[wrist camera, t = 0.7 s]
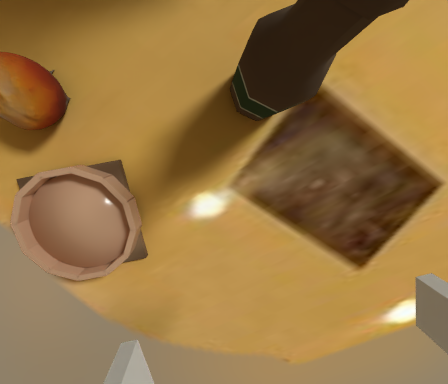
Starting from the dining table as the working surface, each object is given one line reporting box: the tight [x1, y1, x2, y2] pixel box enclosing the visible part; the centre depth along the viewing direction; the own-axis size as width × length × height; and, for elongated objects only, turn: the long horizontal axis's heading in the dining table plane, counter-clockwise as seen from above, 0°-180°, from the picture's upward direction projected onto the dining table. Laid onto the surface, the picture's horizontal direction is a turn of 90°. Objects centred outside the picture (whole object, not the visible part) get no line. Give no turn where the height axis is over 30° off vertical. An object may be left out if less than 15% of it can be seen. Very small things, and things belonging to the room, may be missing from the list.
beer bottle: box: [230, 0, 409, 121], centre depth 19 cm, size 8×8×24 cm
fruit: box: [0, 52, 70, 130], centre depth 27 cm, size 8×8×8 cm
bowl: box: [10, 165, 142, 281], centre depth 31 cm, size 16×16×2 cm
